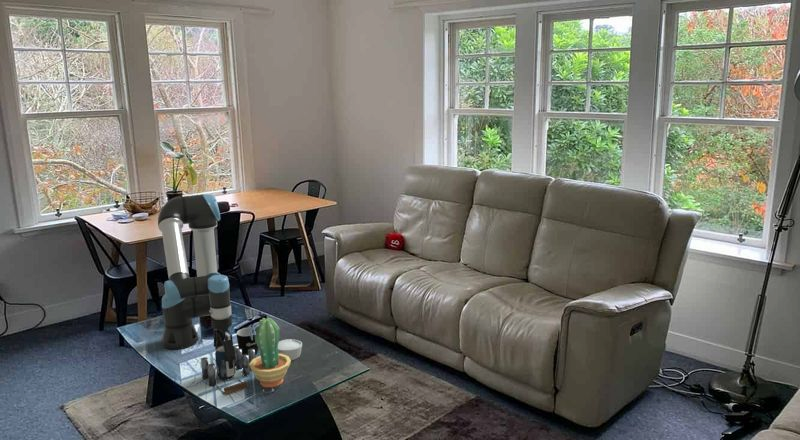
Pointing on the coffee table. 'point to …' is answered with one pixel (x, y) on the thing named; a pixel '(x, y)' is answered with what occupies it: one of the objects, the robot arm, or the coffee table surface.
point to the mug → (246, 341)
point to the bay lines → (219, 389)
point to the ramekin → (290, 348)
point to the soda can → (222, 364)
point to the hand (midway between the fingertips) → (226, 370)
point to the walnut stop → (235, 388)
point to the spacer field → (240, 363)
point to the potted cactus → (268, 354)
